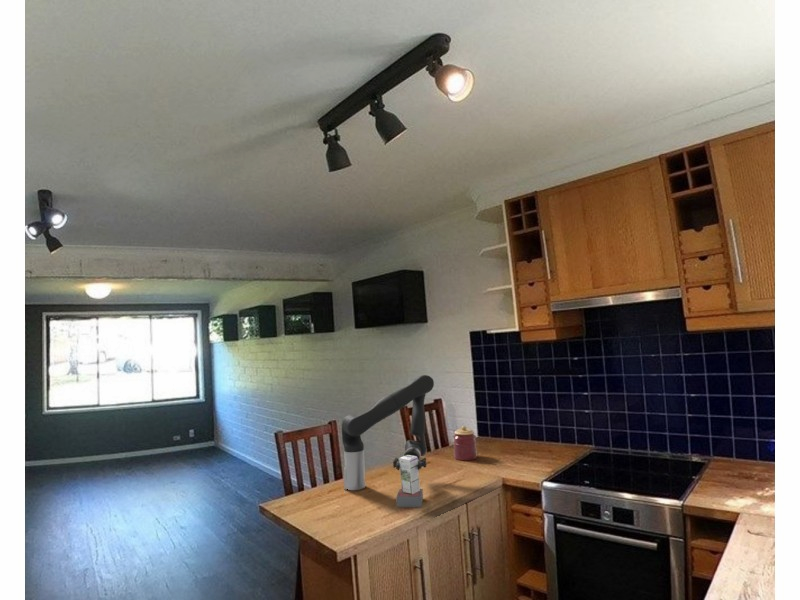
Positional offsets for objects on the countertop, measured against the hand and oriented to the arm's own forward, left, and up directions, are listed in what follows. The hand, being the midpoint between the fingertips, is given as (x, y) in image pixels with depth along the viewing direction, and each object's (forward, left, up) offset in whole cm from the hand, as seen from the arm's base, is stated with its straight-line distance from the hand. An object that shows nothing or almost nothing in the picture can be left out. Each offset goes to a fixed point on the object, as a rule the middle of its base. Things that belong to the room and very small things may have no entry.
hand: (408, 467), depth 191 cm
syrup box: (0, +2, -11) cm, 11 cm away
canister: (+24, +71, -15) cm, 76 cm away
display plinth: (0, +2, -15) cm, 15 cm away
